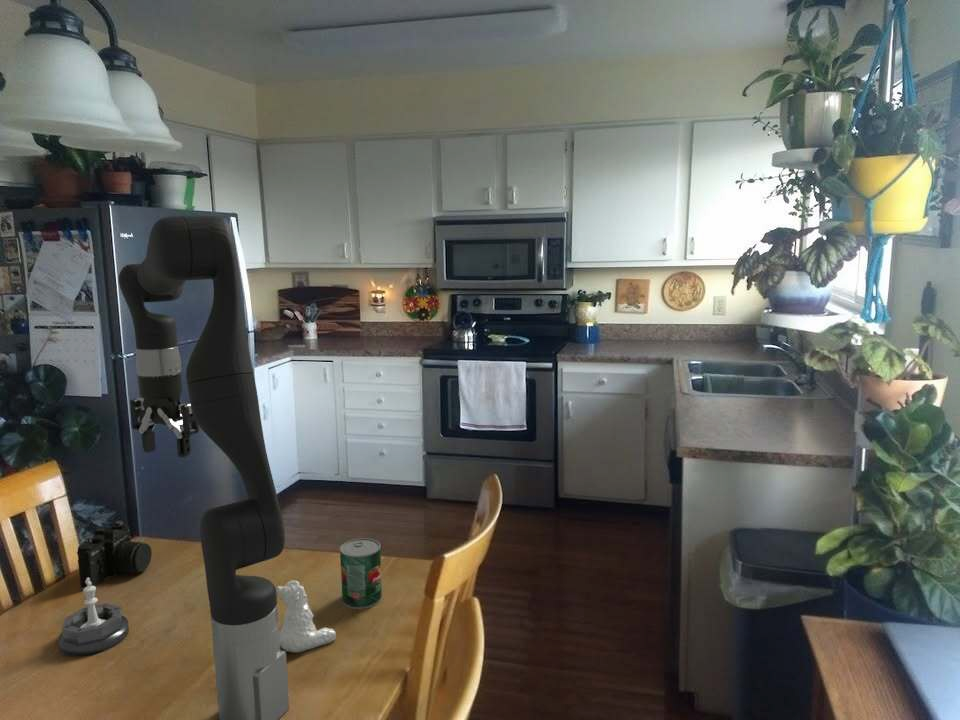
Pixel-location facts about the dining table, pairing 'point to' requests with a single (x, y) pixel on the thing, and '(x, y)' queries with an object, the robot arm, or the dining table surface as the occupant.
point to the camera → (111, 554)
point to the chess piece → (91, 606)
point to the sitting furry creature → (300, 621)
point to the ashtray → (93, 631)
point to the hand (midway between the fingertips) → (167, 453)
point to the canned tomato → (361, 573)
